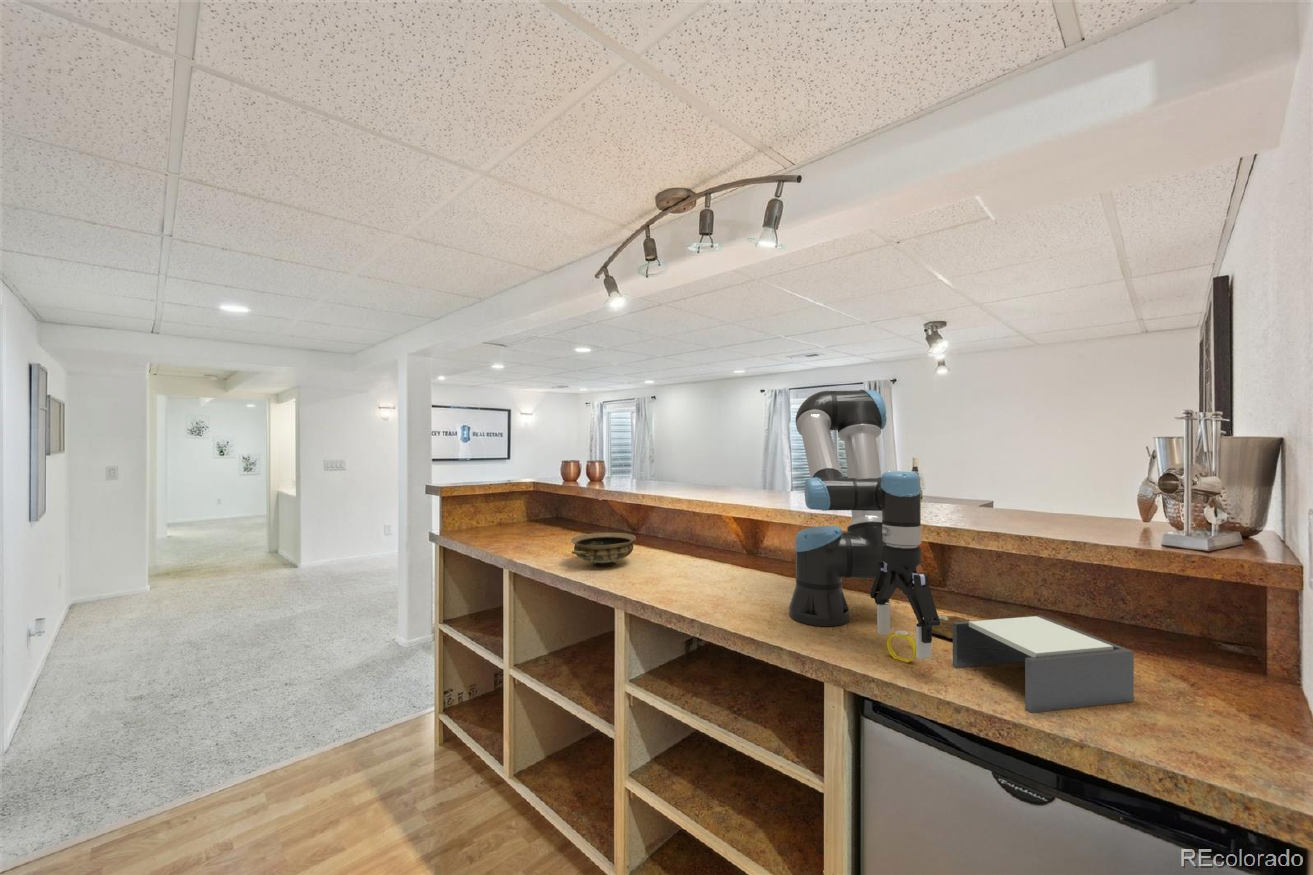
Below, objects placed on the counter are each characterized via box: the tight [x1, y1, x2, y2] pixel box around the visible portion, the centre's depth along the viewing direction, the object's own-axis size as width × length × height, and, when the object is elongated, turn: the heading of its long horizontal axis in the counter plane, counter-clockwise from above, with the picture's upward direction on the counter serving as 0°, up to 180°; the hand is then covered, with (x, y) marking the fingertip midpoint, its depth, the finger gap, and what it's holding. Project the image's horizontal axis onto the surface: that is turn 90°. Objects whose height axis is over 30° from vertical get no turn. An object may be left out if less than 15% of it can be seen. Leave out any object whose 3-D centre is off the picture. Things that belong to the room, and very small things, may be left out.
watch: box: [886, 630, 917, 664], centre depth 114 cm, size 6×3×6 cm, turn 40°
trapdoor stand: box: [952, 615, 1135, 714], centre depth 103 cm, size 19×21×9 cm
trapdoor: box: [969, 615, 1113, 657], centre depth 103 cm, size 16×16×1 cm
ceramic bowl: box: [570, 532, 637, 568], centre depth 198 cm, size 30×24×10 cm
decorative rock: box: [923, 615, 971, 640], centre depth 127 cm, size 11×4×15 cm
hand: (902, 645), depth 113 cm, fingers open, 13 cm apart
